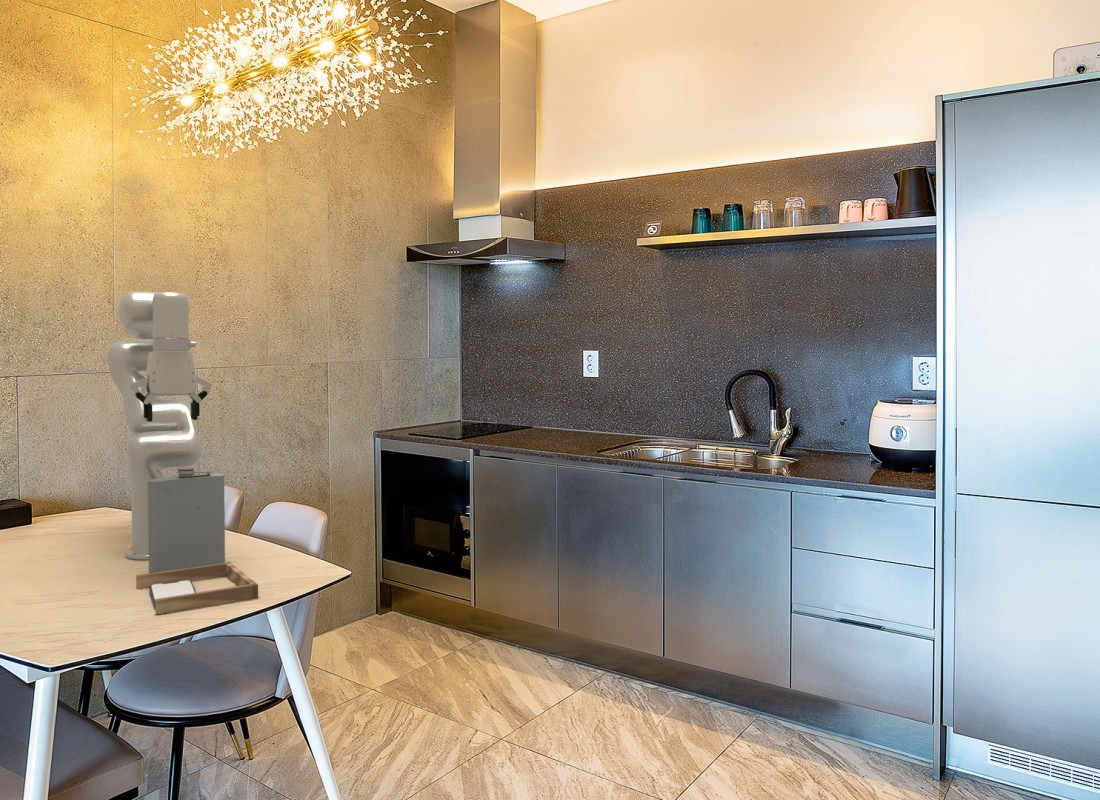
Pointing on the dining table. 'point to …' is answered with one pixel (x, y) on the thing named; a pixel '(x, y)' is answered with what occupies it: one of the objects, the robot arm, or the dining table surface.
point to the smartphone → (171, 589)
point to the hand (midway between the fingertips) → (172, 420)
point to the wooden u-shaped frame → (241, 592)
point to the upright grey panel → (186, 520)
